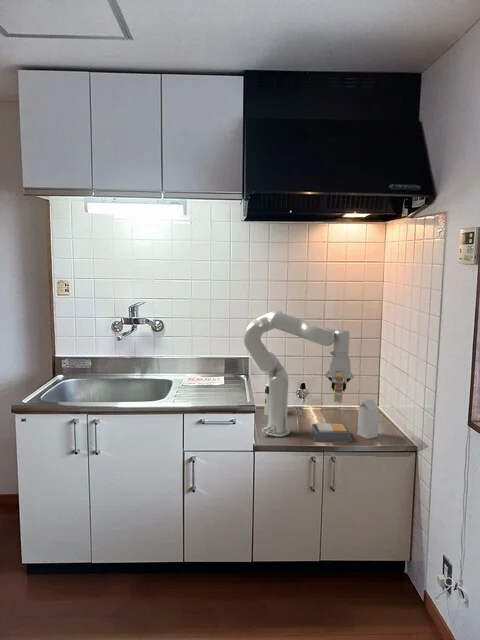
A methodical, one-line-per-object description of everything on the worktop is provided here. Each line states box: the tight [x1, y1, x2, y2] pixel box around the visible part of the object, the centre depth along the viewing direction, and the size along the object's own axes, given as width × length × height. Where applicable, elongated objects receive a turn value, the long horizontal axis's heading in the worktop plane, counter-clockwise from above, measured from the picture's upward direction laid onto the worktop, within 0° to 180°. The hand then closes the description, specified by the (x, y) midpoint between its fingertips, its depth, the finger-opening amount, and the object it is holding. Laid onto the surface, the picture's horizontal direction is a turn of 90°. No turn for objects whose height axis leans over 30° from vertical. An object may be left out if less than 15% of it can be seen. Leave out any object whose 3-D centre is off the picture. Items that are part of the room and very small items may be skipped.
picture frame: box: [315, 422, 347, 432], centre depth 243 cm, size 14×10×2 cm
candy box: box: [333, 372, 344, 403], centre depth 242 cm, size 9×4×15 cm, turn 168°
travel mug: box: [263, 382, 269, 417], centre depth 276 cm, size 8×8×18 cm
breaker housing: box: [309, 423, 353, 443], centre depth 243 cm, size 19×13×4 cm
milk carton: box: [357, 398, 380, 440], centre depth 244 cm, size 7×7×19 cm
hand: (338, 390), depth 242 cm, fingers closed on candy box, 4 cm apart
